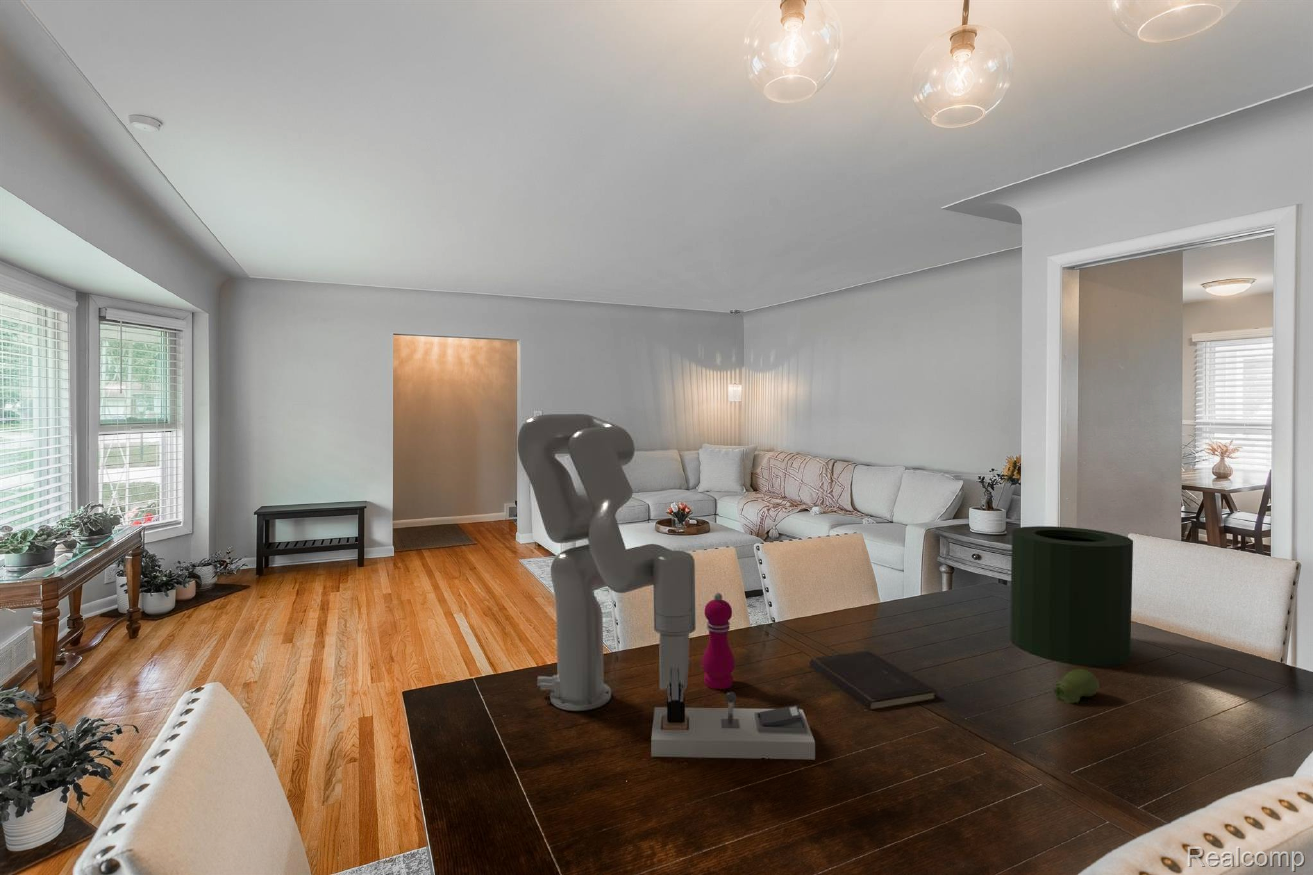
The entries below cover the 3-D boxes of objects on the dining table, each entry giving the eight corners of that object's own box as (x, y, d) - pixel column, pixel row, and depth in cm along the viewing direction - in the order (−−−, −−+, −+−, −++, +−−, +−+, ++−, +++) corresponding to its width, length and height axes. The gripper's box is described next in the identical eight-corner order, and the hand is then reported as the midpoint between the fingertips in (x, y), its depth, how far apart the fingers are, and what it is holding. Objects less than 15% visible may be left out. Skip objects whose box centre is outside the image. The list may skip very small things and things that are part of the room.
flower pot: (1125, 640, 163) (1128, 531, 162) (1135, 675, 142) (1138, 550, 141) (1013, 623, 177) (1014, 523, 176) (1006, 653, 156) (1008, 539, 154)
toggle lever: (725, 726, 115) (726, 697, 112) (725, 718, 117) (725, 689, 114) (735, 726, 115) (736, 697, 112) (734, 718, 116) (735, 689, 114)
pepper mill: (733, 691, 136) (733, 598, 135) (699, 689, 137) (699, 596, 136) (736, 677, 143) (736, 589, 142) (704, 675, 144) (703, 587, 143)
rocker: (763, 729, 113) (762, 723, 113) (760, 717, 118) (759, 711, 118) (802, 721, 113) (801, 716, 113) (798, 710, 117) (796, 704, 117)
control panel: (651, 756, 111) (651, 734, 110) (654, 722, 123) (654, 703, 122) (814, 759, 109) (814, 737, 109) (802, 724, 121) (802, 705, 121)
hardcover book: (868, 659, 154) (868, 650, 153) (936, 701, 132) (936, 690, 131) (809, 668, 149) (809, 658, 149) (869, 712, 127) (869, 701, 127)
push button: (662, 741, 114) (662, 725, 114) (663, 728, 119) (663, 714, 118) (687, 741, 114) (687, 726, 114) (687, 729, 118) (687, 714, 118)
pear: (1104, 671, 131) (1072, 688, 127) (1106, 695, 132) (1074, 713, 128) (1076, 661, 136) (1045, 677, 132) (1078, 684, 137) (1047, 701, 133)
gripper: (656, 608, 123) (657, 701, 124) (651, 635, 108) (653, 741, 109) (695, 608, 123) (696, 702, 123) (696, 635, 108) (697, 741, 108)
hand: (676, 720), depth 116 cm, fingers closed
